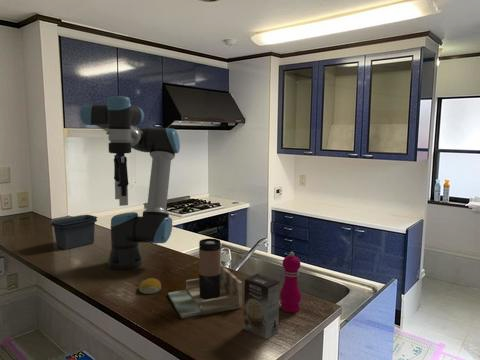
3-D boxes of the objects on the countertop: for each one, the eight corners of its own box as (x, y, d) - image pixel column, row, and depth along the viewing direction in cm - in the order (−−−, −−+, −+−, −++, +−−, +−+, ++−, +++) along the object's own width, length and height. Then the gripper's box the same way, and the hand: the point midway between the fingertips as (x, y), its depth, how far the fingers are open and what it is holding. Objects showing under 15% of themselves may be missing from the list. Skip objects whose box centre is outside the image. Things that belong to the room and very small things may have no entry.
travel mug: (224, 294, 134) (224, 240, 132) (212, 302, 128) (212, 245, 125) (207, 289, 138) (207, 237, 136) (194, 297, 131) (194, 242, 129)
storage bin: (61, 252, 184) (60, 224, 183) (47, 246, 194) (45, 219, 192) (100, 243, 201) (100, 217, 199) (85, 238, 210) (84, 213, 209)
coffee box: (242, 329, 113) (243, 278, 111) (255, 321, 118) (256, 272, 116) (266, 340, 107) (267, 286, 105) (279, 331, 112) (280, 280, 110)
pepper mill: (275, 308, 127) (276, 251, 125) (288, 301, 132) (289, 247, 130) (292, 315, 122) (293, 256, 120) (305, 308, 127) (307, 252, 125)
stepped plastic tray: (167, 294, 137) (167, 271, 136) (220, 286, 145) (220, 263, 144) (182, 319, 119) (182, 292, 118) (241, 307, 127) (242, 282, 126)
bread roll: (160, 284, 147) (160, 274, 146) (161, 293, 138) (161, 283, 138) (139, 286, 145) (139, 276, 144) (138, 295, 136) (138, 285, 136)
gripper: (105, 141, 138) (107, 197, 141) (111, 142, 116) (113, 209, 118) (126, 141, 141) (127, 196, 144) (136, 142, 119) (137, 207, 121)
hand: (121, 202), depth 131 cm, fingers open, 13 cm apart
